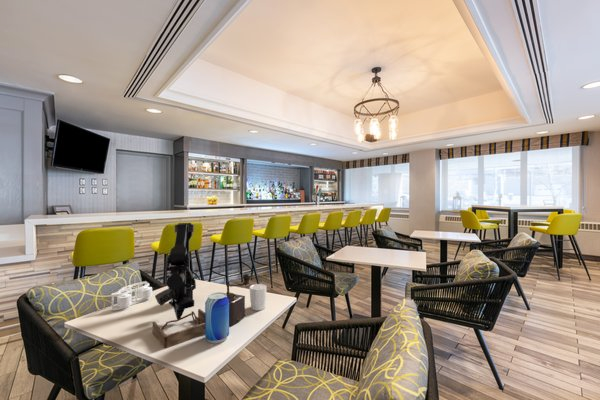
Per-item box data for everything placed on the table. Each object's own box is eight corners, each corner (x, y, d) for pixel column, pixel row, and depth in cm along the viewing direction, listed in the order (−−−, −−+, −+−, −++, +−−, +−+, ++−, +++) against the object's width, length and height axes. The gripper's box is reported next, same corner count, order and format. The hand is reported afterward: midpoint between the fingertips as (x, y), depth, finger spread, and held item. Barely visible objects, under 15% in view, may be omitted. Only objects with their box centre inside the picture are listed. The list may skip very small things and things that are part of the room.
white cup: (246, 309, 126) (246, 288, 126) (255, 303, 133) (255, 283, 133) (261, 312, 123) (261, 290, 123) (269, 305, 130) (269, 285, 130)
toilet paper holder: (118, 312, 123) (118, 296, 123) (103, 308, 128) (103, 292, 128) (157, 297, 142) (157, 283, 142) (143, 294, 146) (143, 280, 146)
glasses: (204, 332, 106) (204, 319, 106) (168, 344, 97) (168, 330, 97) (193, 320, 116) (193, 309, 116) (160, 330, 107) (160, 317, 107)
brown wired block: (199, 318, 117) (199, 308, 117) (215, 330, 106) (215, 320, 106) (152, 332, 104) (152, 322, 104) (164, 348, 94) (164, 336, 94)
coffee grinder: (231, 327, 108) (231, 283, 108) (210, 322, 113) (210, 279, 113) (253, 312, 123) (253, 273, 123) (233, 308, 127) (233, 270, 127)
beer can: (216, 347, 94) (215, 301, 94) (200, 340, 99) (200, 296, 99) (233, 336, 101) (233, 294, 101) (218, 330, 106) (218, 290, 106)
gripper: (150, 280, 114) (150, 317, 114) (164, 292, 100) (164, 334, 100) (178, 275, 121) (178, 310, 122) (194, 285, 108) (194, 324, 108)
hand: (178, 319), depth 113 cm, fingers closed
